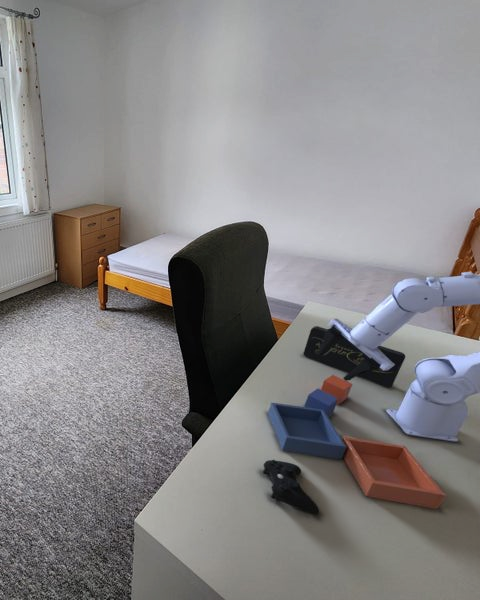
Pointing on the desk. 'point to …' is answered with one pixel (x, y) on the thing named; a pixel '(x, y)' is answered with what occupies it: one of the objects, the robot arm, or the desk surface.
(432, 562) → the desk surface
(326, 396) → the blue block
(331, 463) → the desk surface
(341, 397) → the terracotta block
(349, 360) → the nameplate
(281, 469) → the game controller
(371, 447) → the bin
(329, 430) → the blue bin
